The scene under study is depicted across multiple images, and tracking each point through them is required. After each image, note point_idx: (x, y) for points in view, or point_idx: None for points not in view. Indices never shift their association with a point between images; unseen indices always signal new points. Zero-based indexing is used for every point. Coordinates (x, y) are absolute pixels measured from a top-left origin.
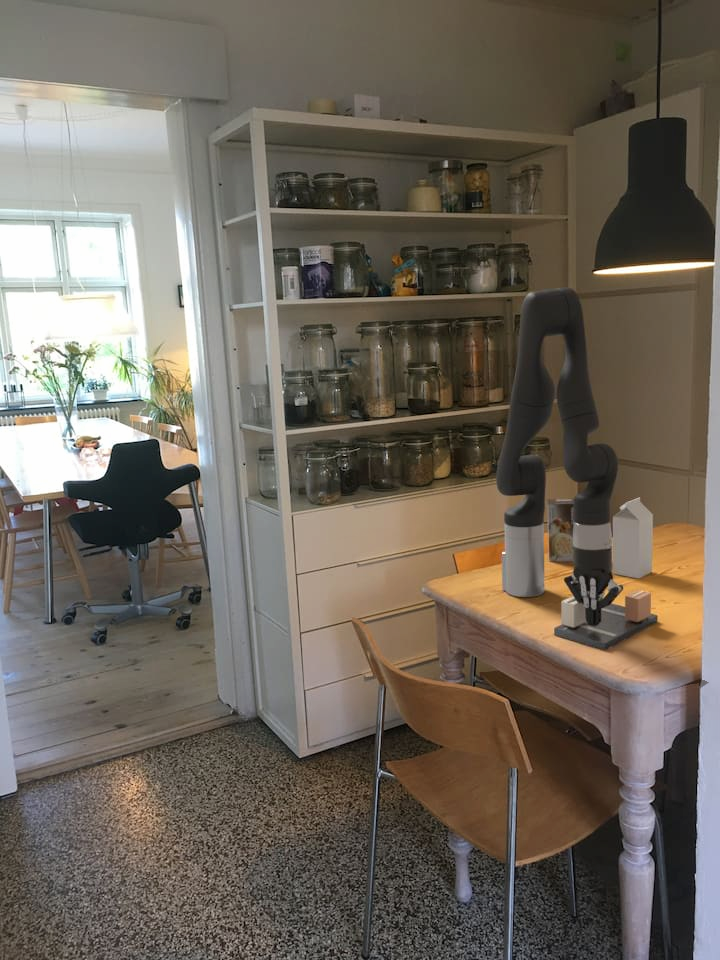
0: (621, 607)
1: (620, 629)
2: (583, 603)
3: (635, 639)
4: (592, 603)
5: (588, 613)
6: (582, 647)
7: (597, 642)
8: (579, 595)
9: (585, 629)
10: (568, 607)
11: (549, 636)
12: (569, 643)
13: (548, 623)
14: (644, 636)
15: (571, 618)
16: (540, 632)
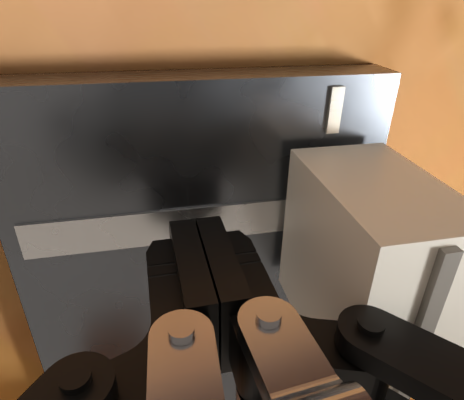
0: None
1: (78, 323)
2: (314, 326)
3: (2, 317)
4: (200, 359)
5: (228, 268)
6: (122, 12)
7: (31, 84)
8: (396, 380)
9: (229, 194)
10: (412, 215)
11: (390, 22)
12: (231, 11)
13: (458, 174)
14: (5, 365)
15: (335, 174)
16: (458, 39)
